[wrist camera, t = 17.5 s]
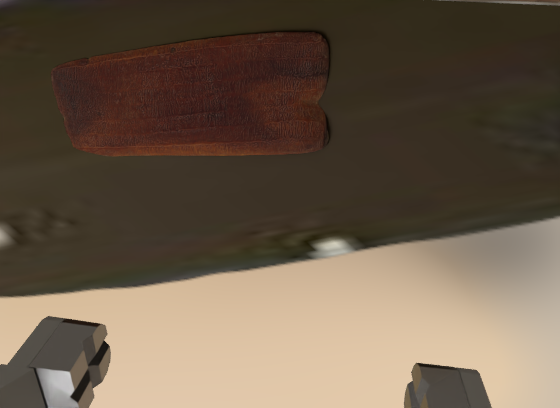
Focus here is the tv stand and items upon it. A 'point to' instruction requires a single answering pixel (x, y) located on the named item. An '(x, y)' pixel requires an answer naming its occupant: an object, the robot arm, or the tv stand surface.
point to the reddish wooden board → (199, 97)
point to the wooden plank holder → (517, 1)
